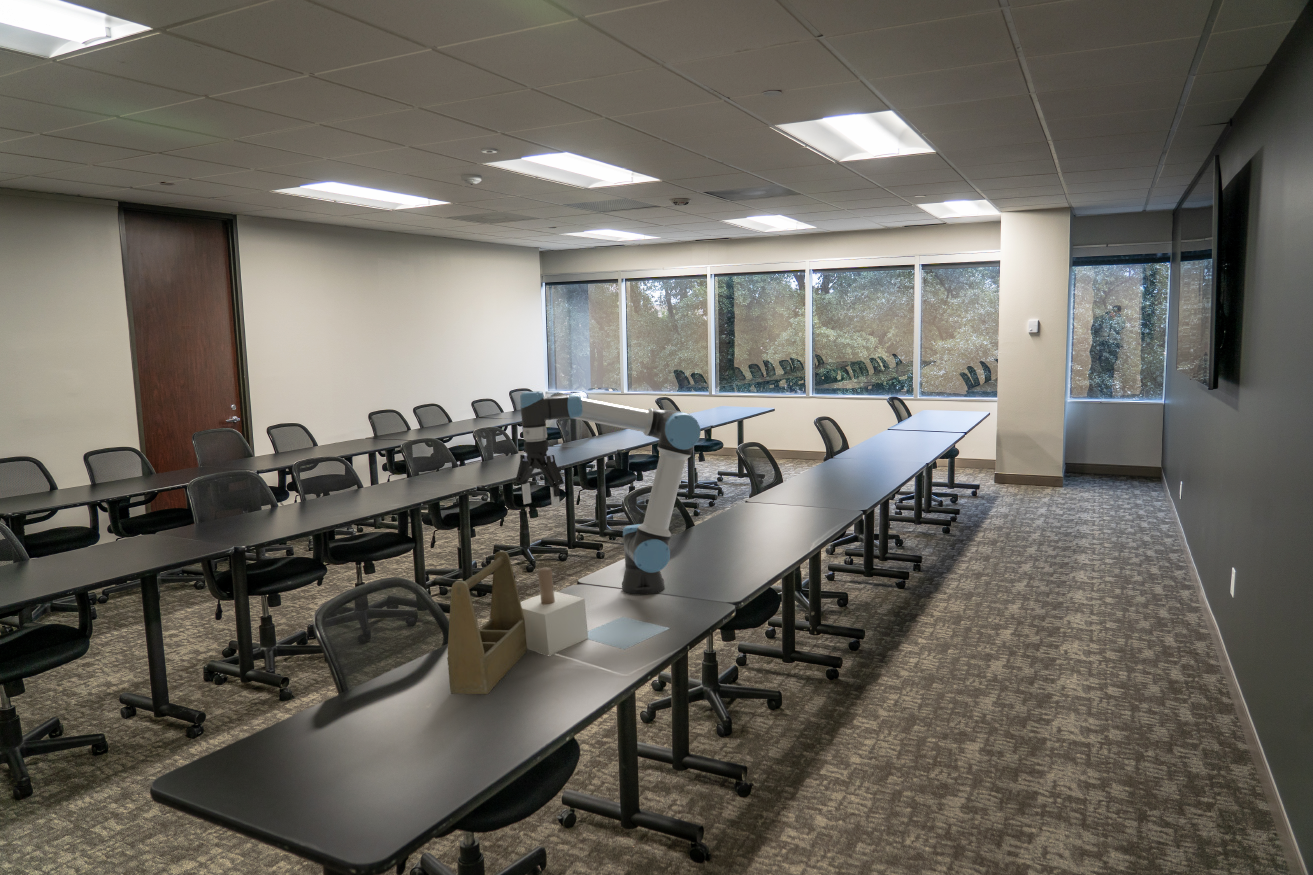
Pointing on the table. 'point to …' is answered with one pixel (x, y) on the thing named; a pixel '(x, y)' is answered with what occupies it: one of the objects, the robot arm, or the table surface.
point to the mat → (624, 632)
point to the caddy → (485, 631)
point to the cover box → (553, 618)
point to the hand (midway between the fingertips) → (541, 505)
